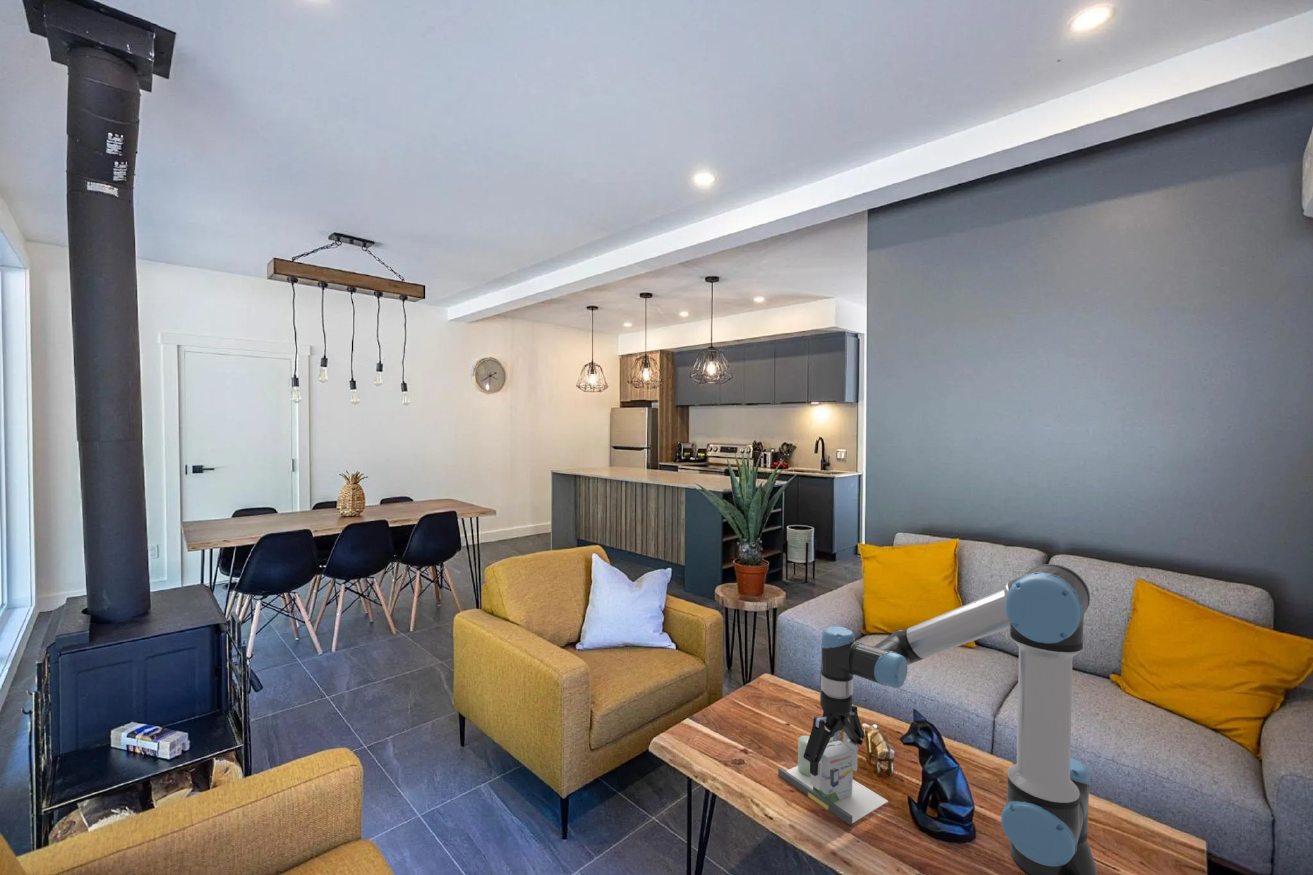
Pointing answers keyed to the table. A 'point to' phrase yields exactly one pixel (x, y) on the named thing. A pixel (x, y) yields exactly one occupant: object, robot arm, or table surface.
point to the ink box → (836, 771)
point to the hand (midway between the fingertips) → (834, 777)
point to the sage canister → (802, 762)
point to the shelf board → (844, 808)
